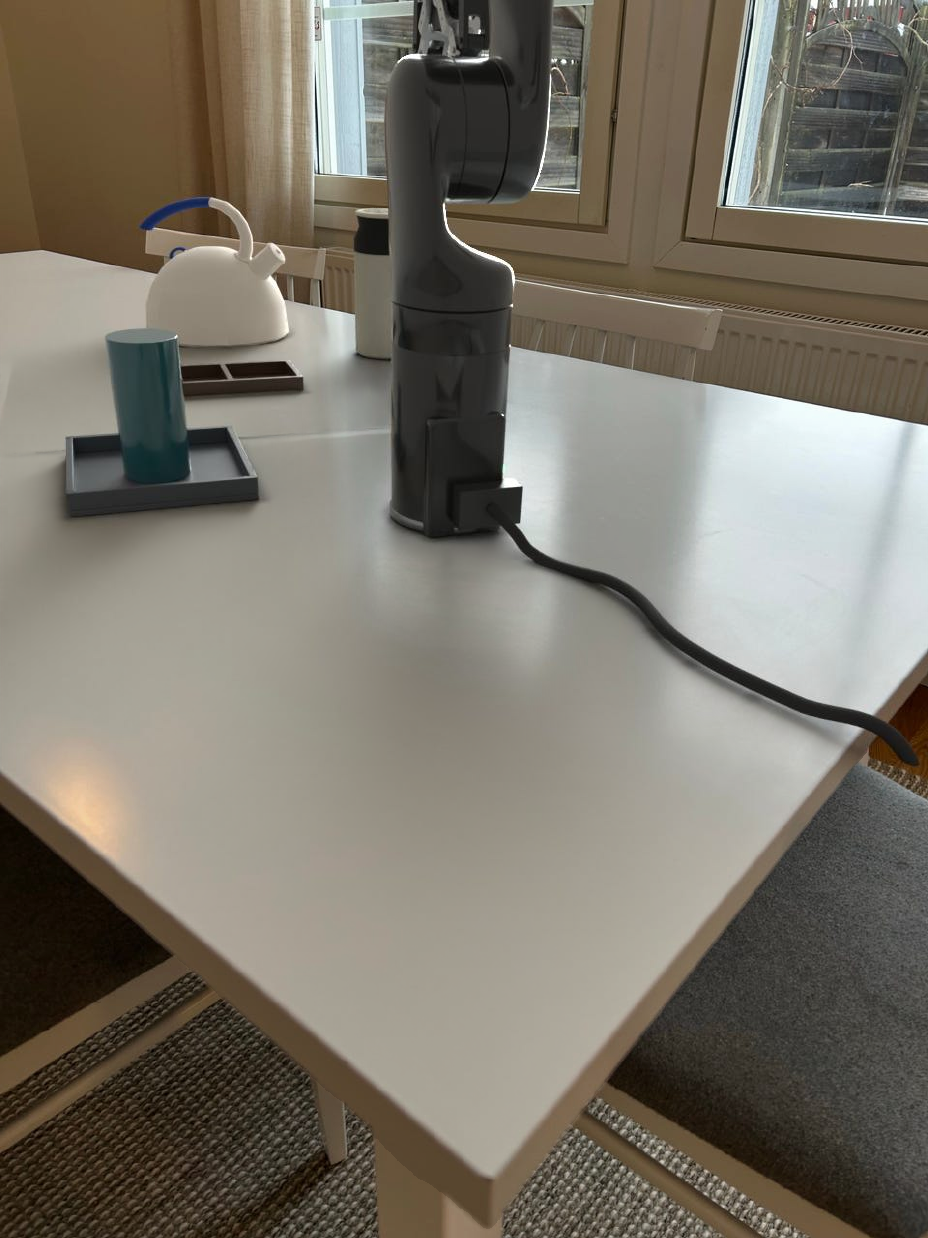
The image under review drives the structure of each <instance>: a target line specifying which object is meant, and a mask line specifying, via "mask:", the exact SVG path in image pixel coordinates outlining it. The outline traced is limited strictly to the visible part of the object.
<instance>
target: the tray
mask: <svg viewBox="0 0 928 1238" xmlns="http://www.w3.org/2000/svg"><path fill="white" fill-rule="evenodd" d="M187 431H188V440H189V450H190V459H191V469H192V471H191V473H190V474H189V475H188V476H186V477H185V478H182V479H179V480H176V481H172V482H166V483H139V482H134V481H131V480H129V479H127V478H126V477H125V476H124V470H123V463H122V456H121V449H120V442H119V435H118V432H115V433H113V432H112V433H101V434H85V435H83V434H82V435H71V436H70V435H69V436H65V497H66V503H67V509H68V513H69V517H70V518H73V517H75V518H76V517H84V516H85V517H86V516H94V515H105V514H106V515H107V514H117V513H118V514H119V513H126V512H127V513H128V512H139V511H149V510H158V509H159V510H160V509H170V508H180V507H181V508H182V507H192V506H200V505H211V504H223V503H234V502H241V501H242V502H244V501H254V500H260V493H259V492H260V489H259V477H258V476H257V473H256V471H255V469H254V468H253V465H252V463H251V461H250V459H249V457H248V455H247V453H246V451H245V450H244V449H245V448H244V447H243V445H242V443H241V441H240V438H239V437H238V435H237V433H236V431H235V429H234V427H233V425H231V424H230V425H217V426H215V425H214V426H202V427H201V426H200V427H187Z"/></svg>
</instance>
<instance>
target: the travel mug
mask: <svg viewBox="0 0 928 1238" xmlns="http://www.w3.org/2000/svg"><path fill="white" fill-rule="evenodd" d="M354 214H355V215H356V218H357V222H358V228H357V229H356V232H355V234H354V236H353V279H354V281H353V282H354V331H355V334H354V335H355V336H354V337H355V352H356V353H357V354H359V355H360V356H363V357H365V358H369V359H375V360H391V301H392V299H391V270H390V257H389V221H388V207H387V208H386V207H385V208H383V207H382V208H381V207H380V208H379V207H377V208H376V207H375V208H374V207H370V208H359V209H355V211H354Z"/></svg>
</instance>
